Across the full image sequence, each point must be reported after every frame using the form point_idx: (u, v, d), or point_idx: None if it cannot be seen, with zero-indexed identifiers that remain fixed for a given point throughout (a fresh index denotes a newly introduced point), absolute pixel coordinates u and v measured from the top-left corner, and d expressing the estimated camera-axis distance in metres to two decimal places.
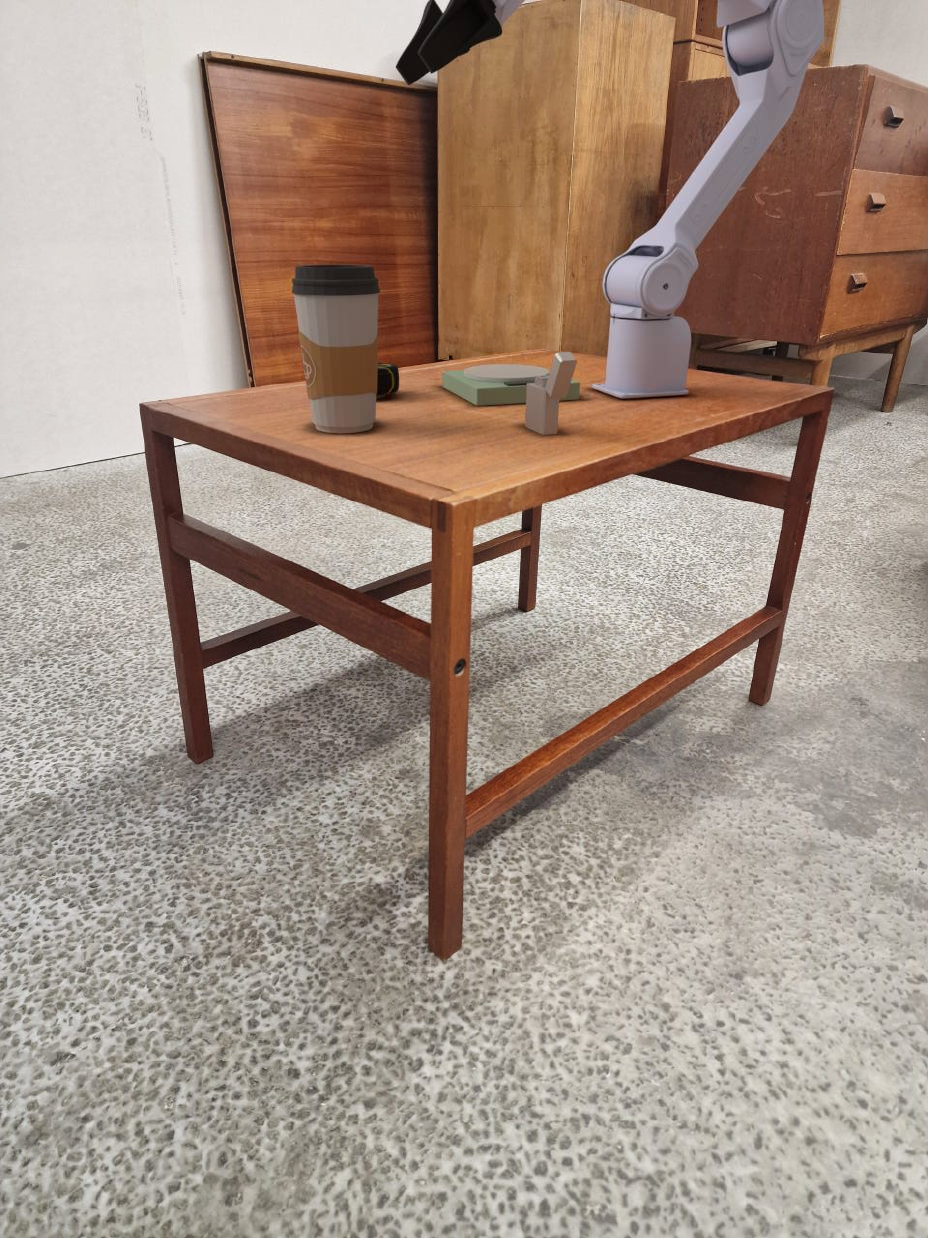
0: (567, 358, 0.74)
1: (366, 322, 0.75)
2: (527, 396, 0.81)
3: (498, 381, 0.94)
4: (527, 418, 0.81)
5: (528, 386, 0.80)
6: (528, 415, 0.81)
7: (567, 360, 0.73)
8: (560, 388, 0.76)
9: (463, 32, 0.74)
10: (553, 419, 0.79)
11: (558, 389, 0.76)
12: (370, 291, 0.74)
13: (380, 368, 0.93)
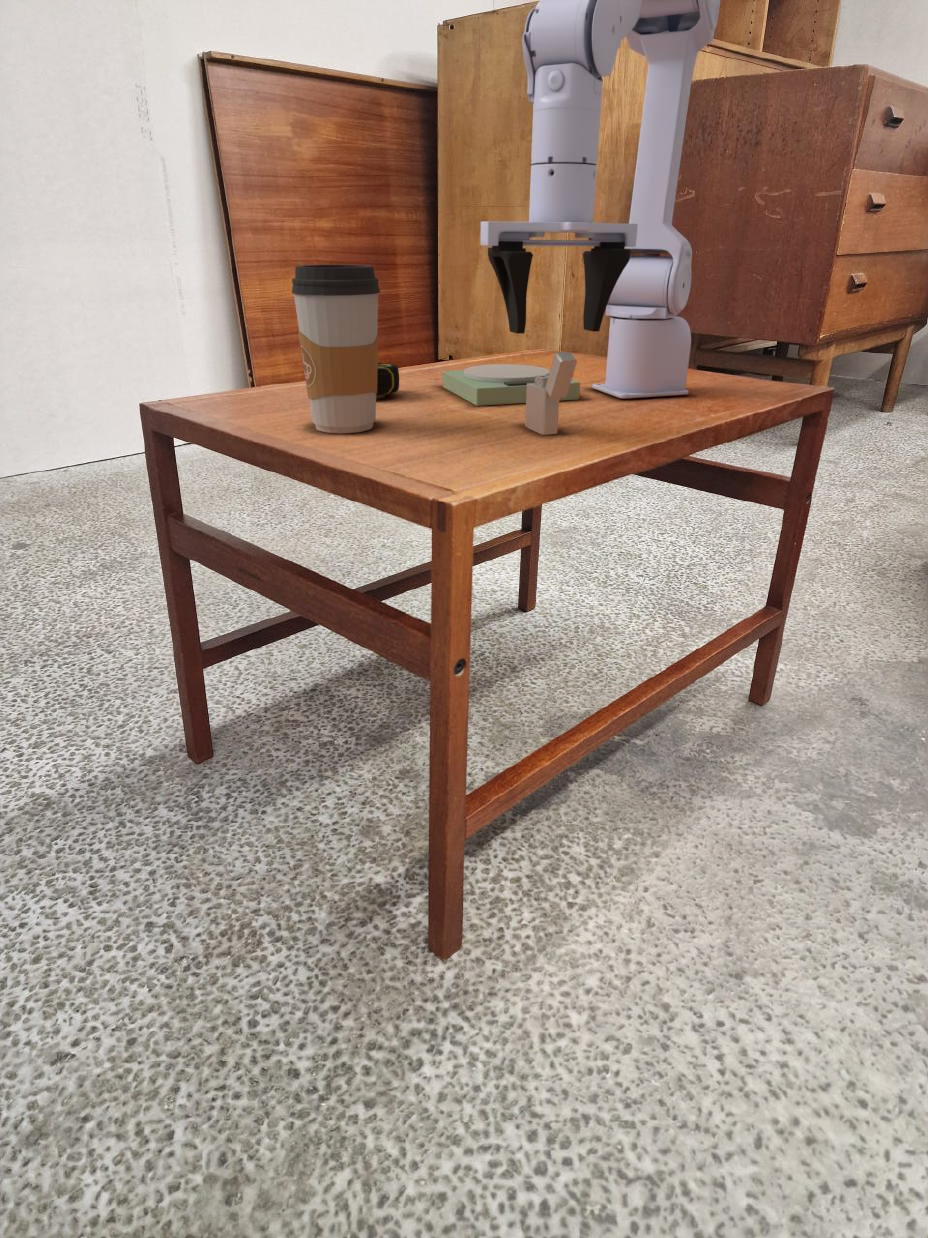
0: (567, 358, 0.74)
1: (366, 322, 0.75)
2: (527, 396, 0.81)
3: (498, 381, 0.94)
4: (527, 418, 0.81)
5: (528, 386, 0.80)
6: (528, 415, 0.81)
7: (567, 360, 0.73)
8: (560, 388, 0.76)
9: None
10: (553, 419, 0.79)
11: (558, 389, 0.76)
12: (370, 291, 0.74)
13: (380, 368, 0.93)
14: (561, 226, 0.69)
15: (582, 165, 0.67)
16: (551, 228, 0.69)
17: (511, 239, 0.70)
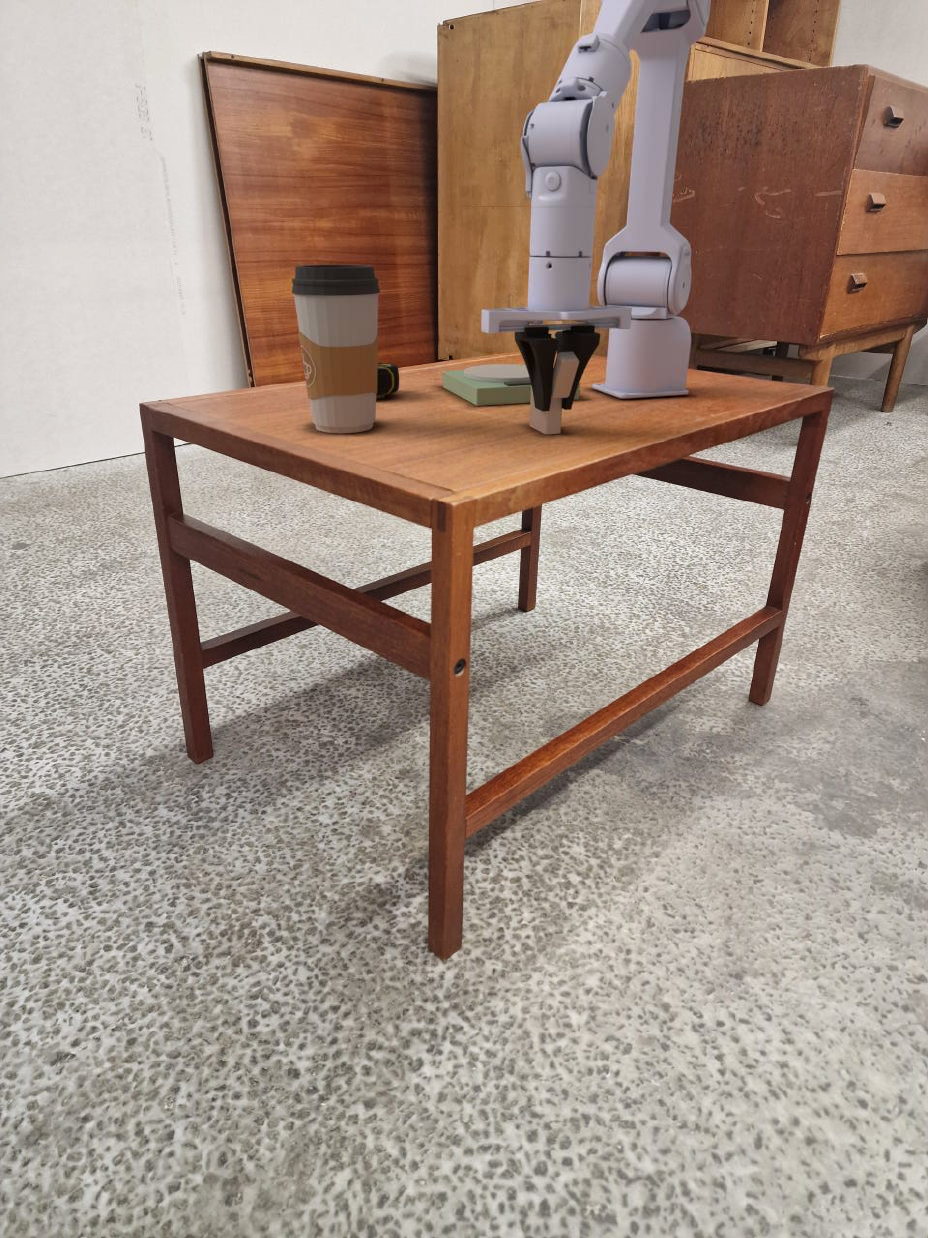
0: (569, 358, 0.74)
1: (366, 322, 0.75)
2: (531, 395, 0.81)
3: (498, 381, 0.94)
4: (531, 417, 0.82)
5: None
6: (532, 414, 0.81)
7: (569, 360, 0.74)
8: (562, 388, 0.76)
9: None
10: (556, 419, 0.79)
11: (560, 389, 0.76)
12: (370, 291, 0.74)
13: (380, 368, 0.93)
14: (559, 315, 0.72)
15: (578, 259, 0.70)
16: (549, 317, 0.72)
17: (510, 325, 0.74)
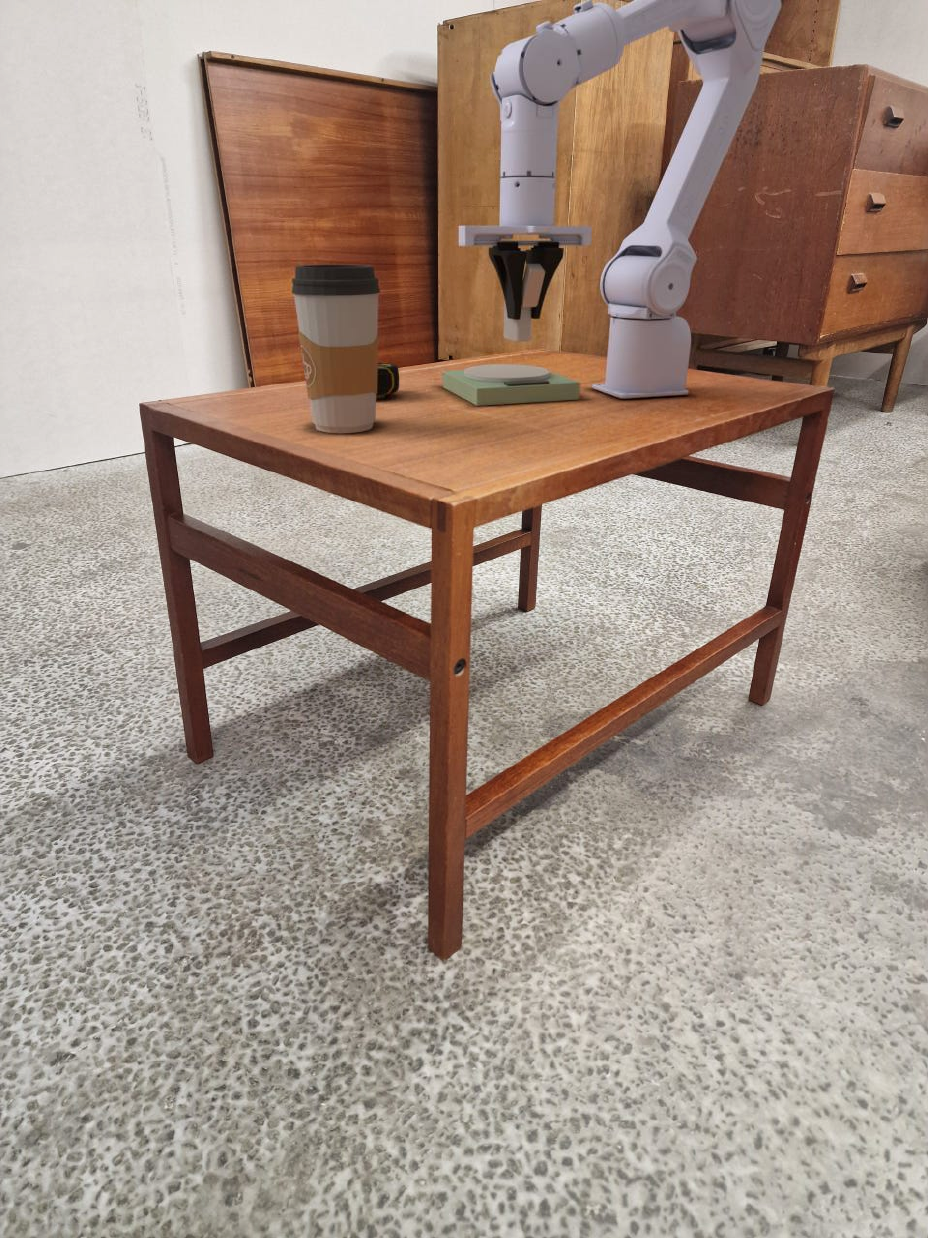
0: (536, 268, 0.84)
1: (366, 322, 0.75)
2: (504, 309, 0.91)
3: (498, 381, 0.94)
4: (505, 329, 0.92)
5: None
6: (505, 326, 0.91)
7: (536, 270, 0.84)
8: (531, 297, 0.86)
9: None
10: (526, 327, 0.89)
11: (529, 298, 0.86)
12: (370, 291, 0.74)
13: (380, 368, 0.93)
14: (526, 229, 0.82)
15: (543, 178, 0.80)
16: (518, 231, 0.82)
17: (484, 240, 0.83)
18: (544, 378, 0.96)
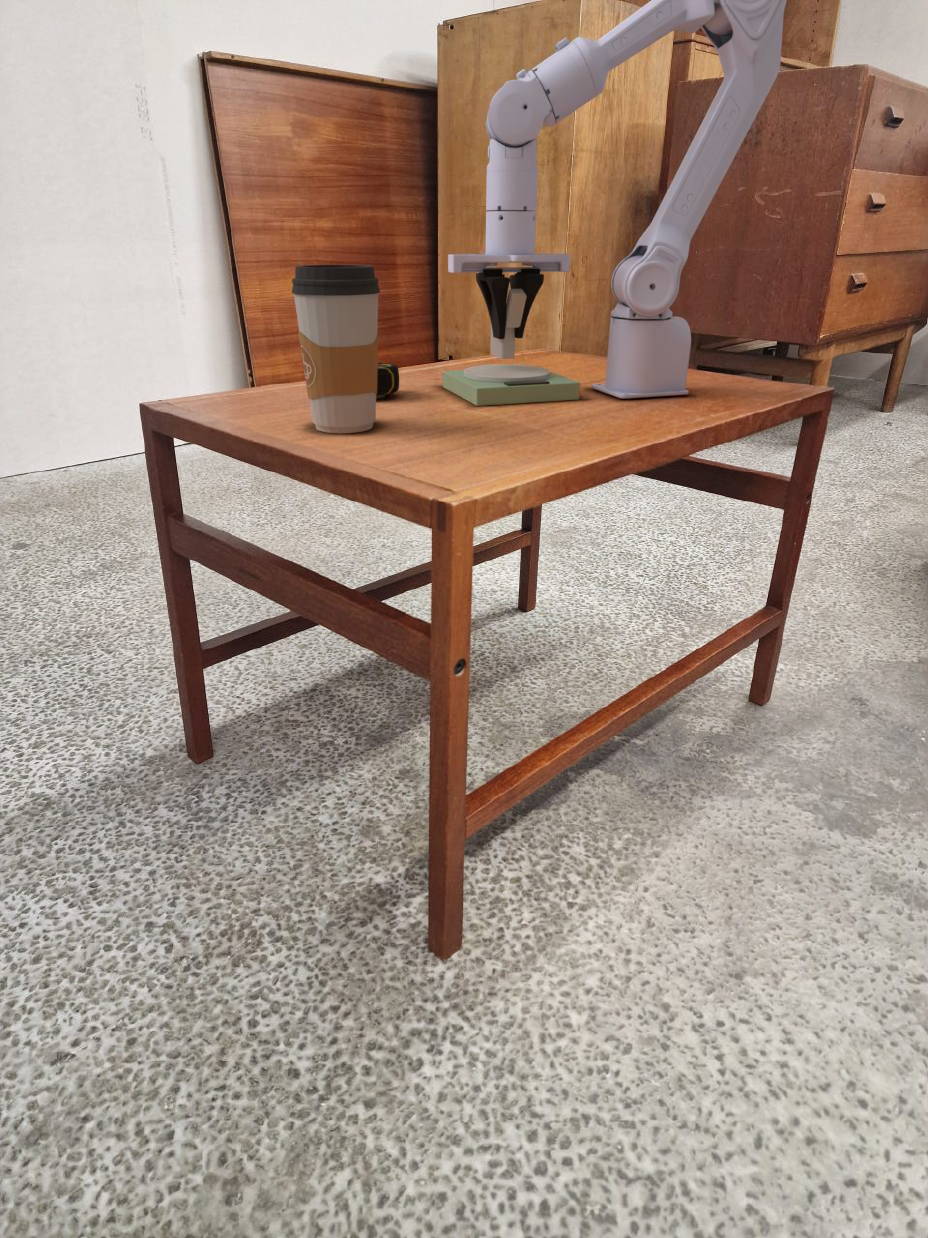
0: (518, 293, 0.92)
1: (366, 322, 0.75)
2: (491, 328, 0.99)
3: (498, 381, 0.94)
4: (491, 347, 1.00)
5: None
6: (492, 344, 1.00)
7: (518, 294, 0.92)
8: (514, 319, 0.94)
9: None
10: (510, 346, 0.97)
11: (512, 319, 0.94)
12: (370, 291, 0.74)
13: (380, 368, 0.93)
14: (509, 258, 0.90)
15: (524, 212, 0.89)
16: (501, 259, 0.90)
17: (471, 267, 0.92)
18: (544, 378, 0.96)
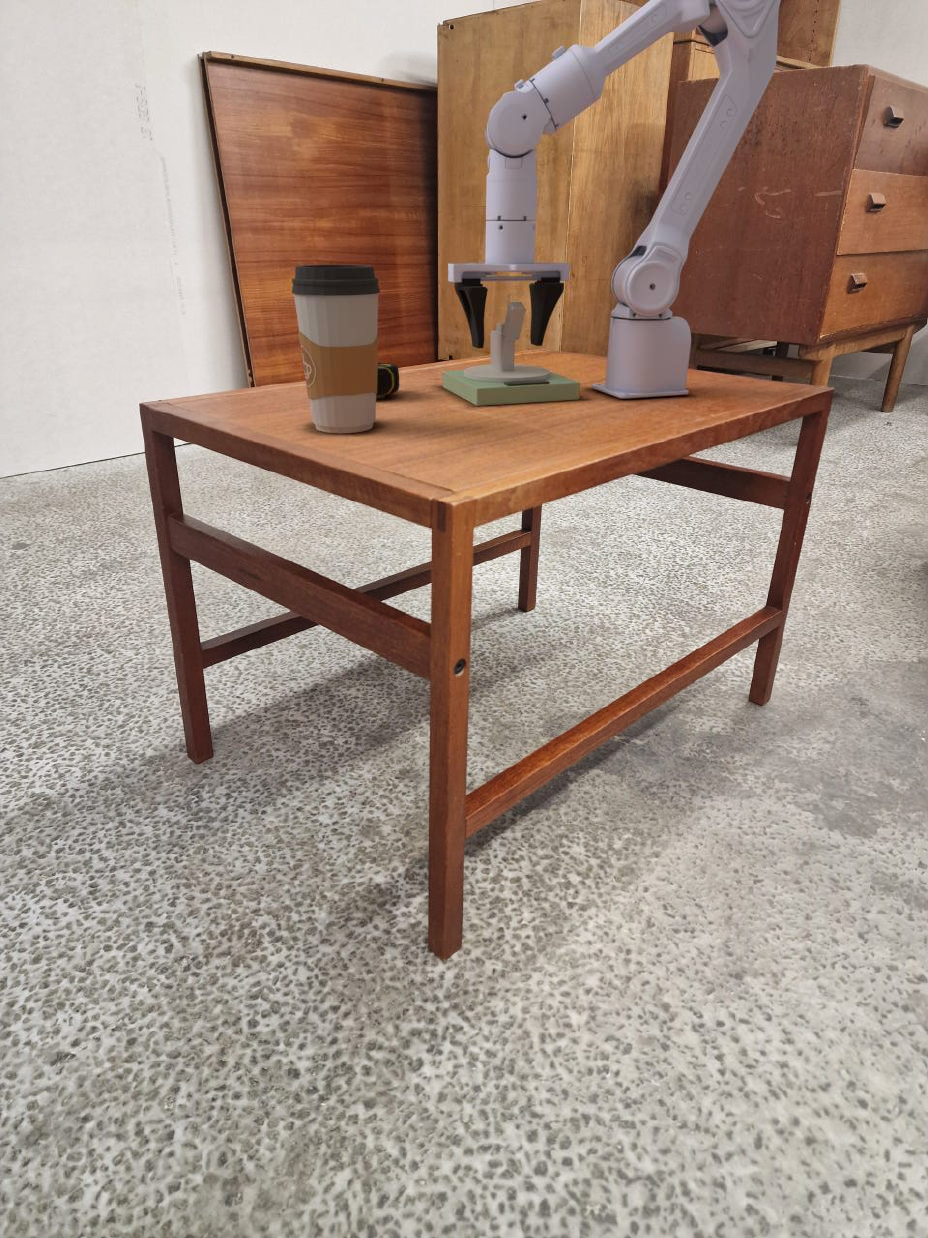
0: (518, 306, 0.93)
1: (366, 322, 0.75)
2: (491, 340, 1.00)
3: (498, 381, 0.94)
4: (491, 359, 1.00)
5: (491, 333, 0.99)
6: (491, 356, 1.00)
7: (517, 308, 0.92)
8: (513, 332, 0.95)
9: None
10: (510, 358, 0.98)
11: (512, 332, 0.95)
12: (370, 291, 0.74)
13: (380, 368, 0.93)
14: (509, 267, 0.91)
15: (523, 222, 0.89)
16: (501, 269, 0.91)
17: (471, 276, 0.92)
18: (544, 378, 0.96)
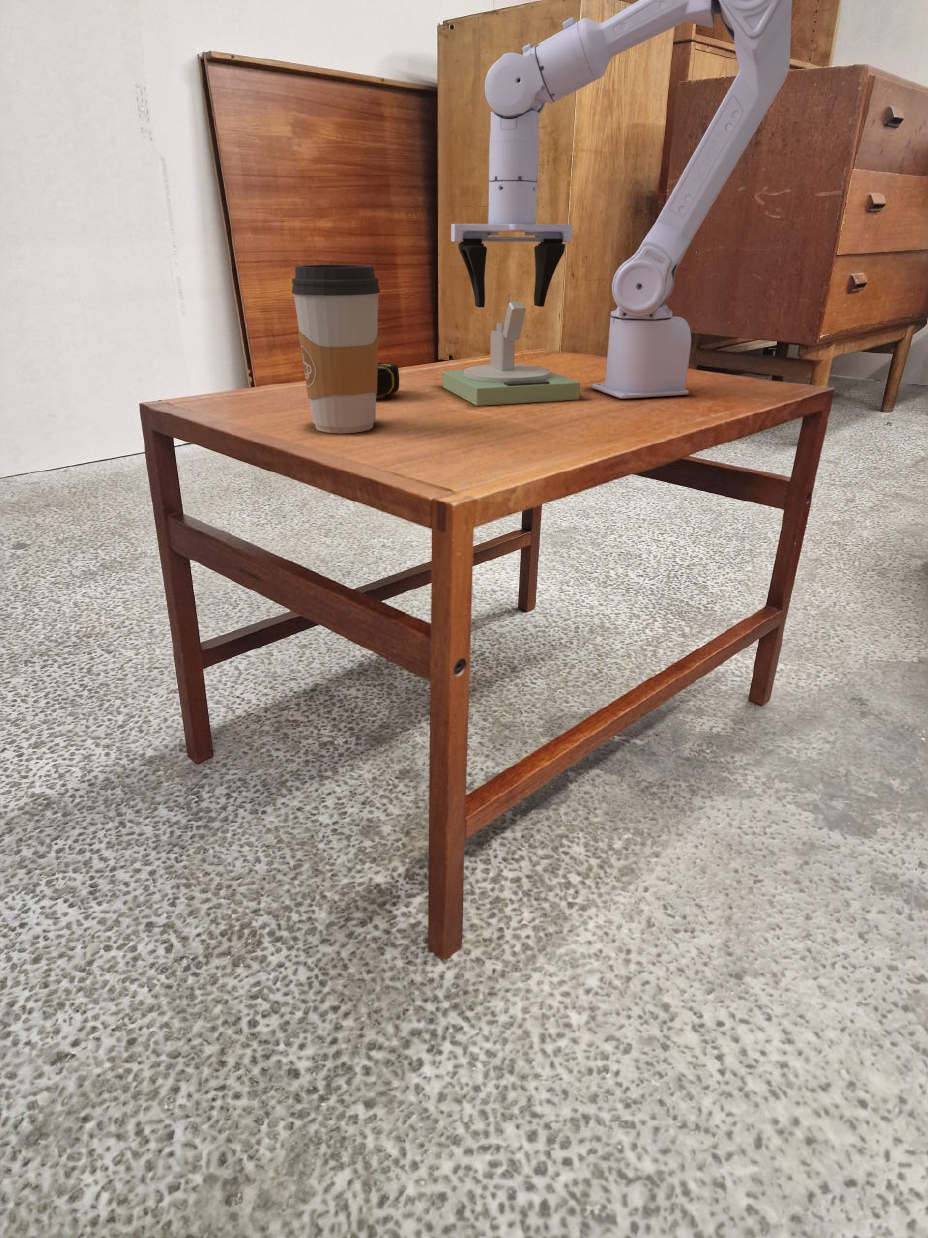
0: (518, 306, 0.93)
1: (366, 322, 0.75)
2: (491, 340, 1.00)
3: (498, 381, 0.94)
4: (491, 359, 1.00)
5: (491, 333, 0.99)
6: (491, 356, 1.00)
7: (517, 308, 0.92)
8: (513, 332, 0.95)
9: None
10: (510, 358, 0.98)
11: (512, 332, 0.95)
12: (370, 291, 0.74)
13: (380, 368, 0.93)
14: (508, 227, 0.93)
15: (523, 182, 0.92)
16: (501, 228, 0.93)
17: (473, 236, 0.95)
18: (544, 378, 0.96)
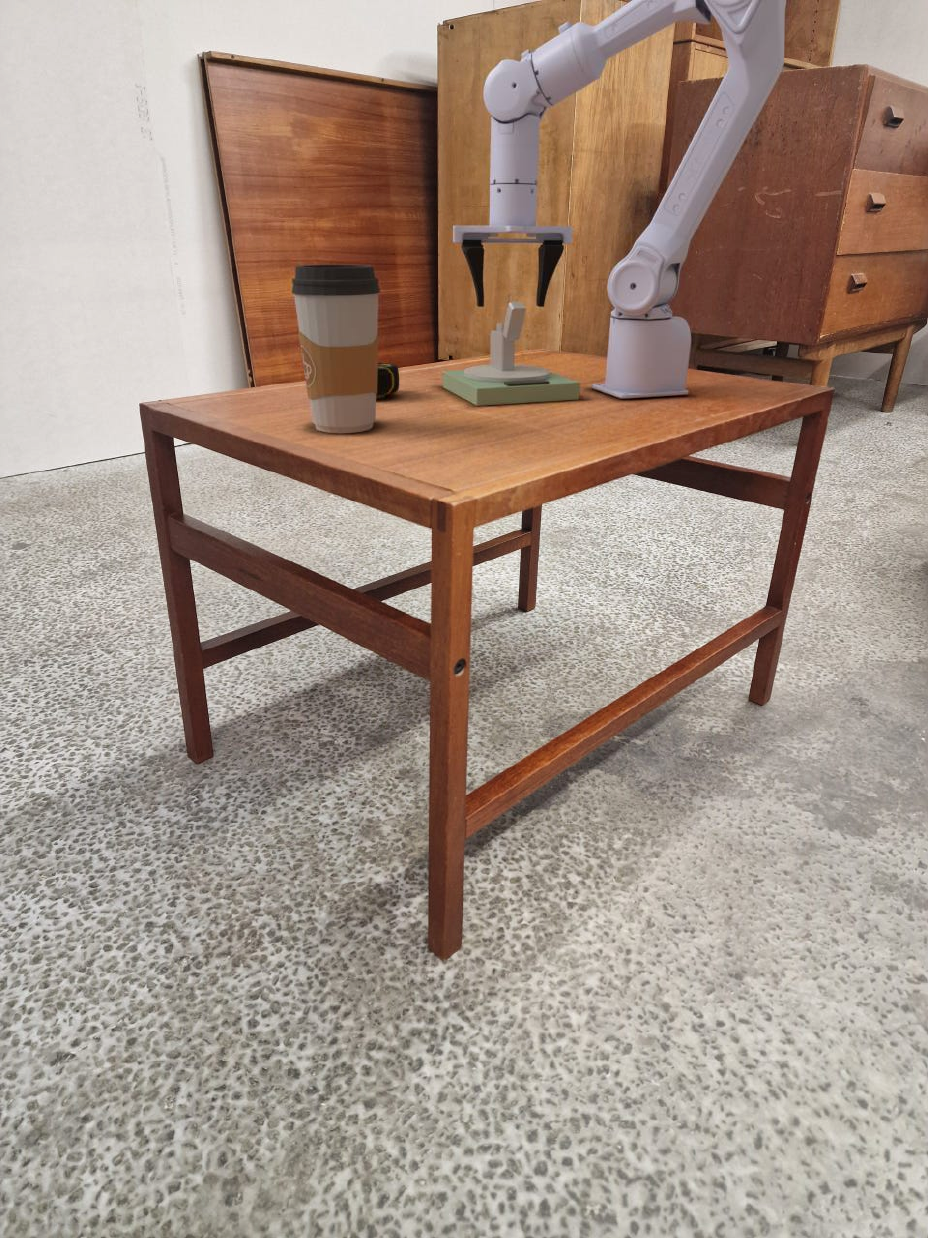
0: (518, 306, 0.93)
1: (366, 322, 0.75)
2: (491, 340, 1.00)
3: (498, 381, 0.94)
4: (491, 359, 1.00)
5: (491, 333, 0.99)
6: (491, 356, 1.00)
7: (517, 308, 0.92)
8: (513, 332, 0.95)
9: None
10: (510, 358, 0.98)
11: (512, 332, 0.95)
12: (370, 291, 0.74)
13: (380, 368, 0.93)
14: (505, 228, 0.96)
15: (520, 185, 0.94)
16: (498, 230, 0.96)
17: (473, 238, 0.98)
18: (544, 378, 0.96)
